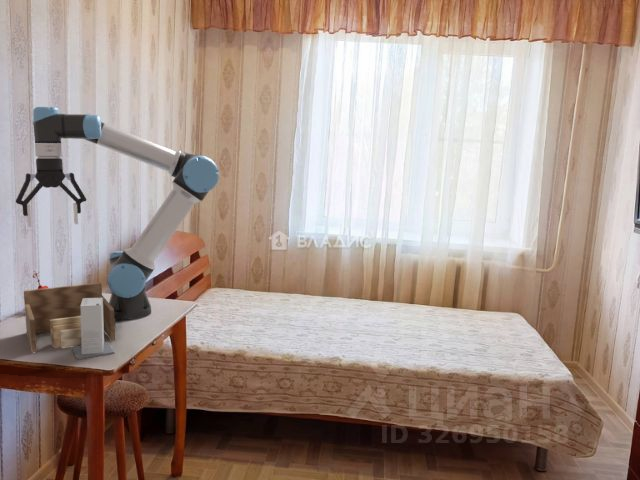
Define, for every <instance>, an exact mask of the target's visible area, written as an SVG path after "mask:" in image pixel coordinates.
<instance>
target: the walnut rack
mask: <svg viewBox="0 0 640 480" xmlns="http://www.w3.org/2000/svg"><path fill="white" fill-rule="evenodd" d="M102 288H103V287H102V283H101V282H93V283H87V284H86V283H85V284H84V283H83V284H76V285H75V284H74V285H65V286H57V287H48V288H45V289H38V288H37V289H28V290H26V289H25V290H23V300H24V314H25V315H24V316H25V317H24V318H25V326H26V327H25V329H26V330H25V331H26V335H27V339H28V343H29V346H30V347H29V348H30V349H31V350H30V351H31V353H33V352H35V353H37V352H38V351H37V337H36V334H38V333H43V332H51V330H50V320H51V319H59V318H67V317H75V316H81V308H80V306H81V302H82V299H83V298H103V321H104V333H105V334H106V335H107V336H108V338H109V340H110V341H112V342H113V341H116V327H115V326H116V323H115V319H114V309H113V308H112V306H111V305H110V304H109V301H108V300H107V299H106V298H105V297H104V296H103V291H102V290H103V289H102Z"/></svg>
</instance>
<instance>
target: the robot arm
mask: <svg viewBox="0 0 640 480" xmlns="http://www.w3.org/2000/svg"><path fill="white" fill-rule="evenodd" d="M32 112H33V114H32V116H33V117H32V118H33V119H32V124H33V137H34V153H35V156H36V157H37V158H36V159H35V166H36V173H35V174H32V173H29V172H27V173H26V174H25V180H24V183H23V185H22V187H21V189H20V190H19V193H18V195H17V197H16V199H15V203H16V204H17V205H21V206H22V214H23V216H24V217H27V226H28V227H29V228H31V227H32V219H31V218H32V217H31V206H30V204H29V203H30V202H31V200H32V199H33V198H34V197H36V196H37V194H38V193H39V191H40V190H41V189H42V188H43V187H44V188H45V189H47V188H48V189H49V188H57V187H60V188H61V189H62V190H63V191H64V192H65V193H66V194H67V195H68V196H69V197H70V198H71V199H72V200H73V201H74V202H75V203H72V206H73V222H74V224H75V225H79V217H78V214H81V212H82V207H81V204H82V203H84V202H87V198H86V195H85V194H84V192H83V191H82V190H81V188H80V186H79V184H78V183H77V181H76V178H75V174H74V173H73V172H69V173H64V164H63V159H62V158H61V157H62V156H63V149H62V139H73V140H79V139H81V140H85V141H88V142H89V143H93V144H96V145H99V146H101V147H104V148H106V149H108V150H111V151H114V152H117V153H119V154H121V155H124V156H127V157H130V158H132V159H135V160H137V161H139V162H142V163H145V164H147V165H150V166H152V167H155V168H157V169H160V170H162V171H165V172H168V174H169V176H170V177H172V178H173V180H172V187H173V188H172V190H171V191H170V192H169V194H168V195H167V197H166V198H165V200H164V201H163V203H162V204H161V206H160V207H159V208H158V209H157V211H156V213H155V214H154V215H153V217H152V218H151V220H150V221H149V222H148V224H147V225H146V227H145V228H144V230H143V231H142V232H141V234H139V236H138V238H137V239H136V241H135V242H134V243H133V245H132V246H131V247H129V248H124V249H123V250H117V251H111V252H110V253H109V258H108V259H109V260H108V261H109V271H108V273H107V274H108V275H107V279H106V282H107V285H108V288H109V289H110V292H111V294H110V298H109V301H108V303H109V304H110V305H111V306H112V308H113V309H114V320H122V321H123V320H124V321H125V320H133V319H134V320H137V319H140V318H144V317H147V316H150V315H151V314H152V306H151V303H150V300H149V298H148V295H147V292H146V282H147V280H148V279H149V277H151V275H152V274H153V272H154V270H155V267H156V266H155V261H156V260H157V258H158V256H159V255H160V254H161V253H162V251H163V250H164V248H166V247H165V246H166V245H167V244H168V243H169V241H170V240H171V238H172V237H173V236H174V234H175V232H176V231H177V229H178V228H179V227H180V225H181V224H182V223H183V221H184V220H185V219H186V217H187V215H188V214H189V213H190V211H191V210H192V208H193V207H194V205H196V204H198V203H202V202H203V201H204V199H205V198H206V197H207V195H208V193H209V192H210V191H211V190H214V188H215V187H216V186H217V184H218V183H219V182H218V181H219V178H220V172H219V171H220V170H219V168H218V165H217V164H216V162H215V161H214V160H212V158H210V157H208V156H205V155H201V154H200V155H199V154H198V155H197V154H192V153H188V152H185V151H183V150H177V151H174V150H173V149H170V148H167V147H165V146H163V145H160V144H157V143H155V142H153V141H150V140H148V139H145V138H142V137H141V136H137V135H135V134H132V133H130V132H127V131H125V130H122V129H119V128H118V127H115V126H112V125H110V124H107V123H104V122H102V119H101V117H100V115H98V114H97V115H96V114H90V113H89V114H78V113H77V114H75V113H74V114H71V113H69V114H64V113H61V112H60V108H58V107H55V106H54V107H53V106H36V107H35V108H33V110H32ZM34 179H36V181H38V183H37V184H36V186H35V187H34V188H33V189H32V190H31V192H30V193H29V194H28V195H27V196H26V197H25V198H24V196H25V194H26V192H27V190H28V187H29V186H30V183H31V182H32V181H34ZM65 179H67V180H69V181H70V183H71V185H72V186H73V188H74V190H75V191H76V193H77V195H78V197H79V198H78V197H77V196H76V195H75V194H74V193H73V192H72V190H70V189H69V188H68V187H67V186H66V184H65V183H63V181H64V180H65ZM23 198H24V200H23Z"/></svg>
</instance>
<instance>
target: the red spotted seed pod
mask: <svg viewBox="0 0 640 480" xmlns="http://www.w3.org/2000/svg"><path fill="white" fill-rule="evenodd" d="M33 272H34V273H32V278H33V279H35V278H36V279H37V283H38V286H37V289H45V288H49V286H48V285H42V284H41V282H40V281H41V280H40V278H39V277H38V274H39V273H40V272H38V273H37V272H36V271H35V270H33Z"/></svg>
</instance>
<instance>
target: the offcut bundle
mask: <svg viewBox="0 0 640 480" xmlns="http://www.w3.org/2000/svg"><path fill="white" fill-rule="evenodd" d="M50 330H51V331H50V344H51V347H56V348H61V349H64V348H63V347H67V348H71V347H70V346H74V347H78V345H80V346H82V343H81V316H75V317H67V318H59V319H51V320H50ZM60 346H61V347H60Z"/></svg>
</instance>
